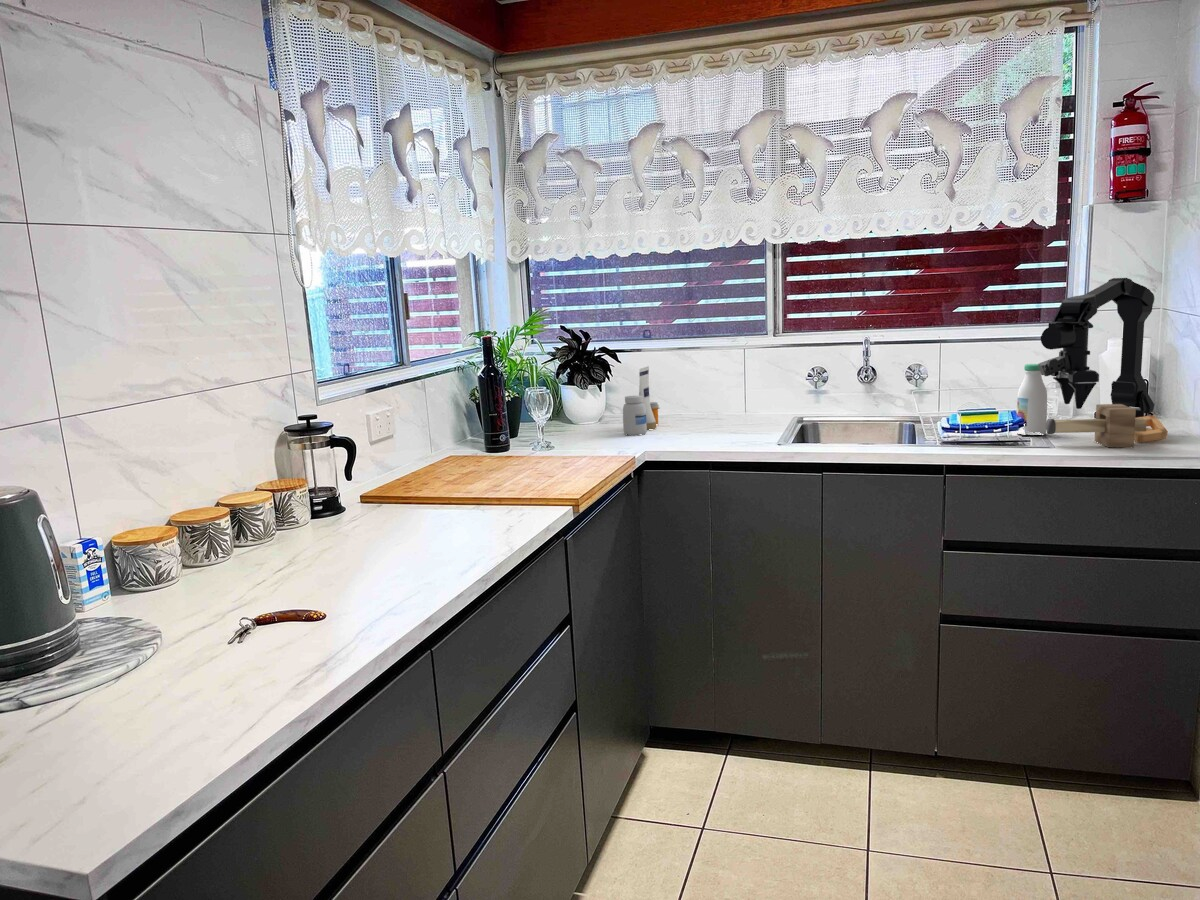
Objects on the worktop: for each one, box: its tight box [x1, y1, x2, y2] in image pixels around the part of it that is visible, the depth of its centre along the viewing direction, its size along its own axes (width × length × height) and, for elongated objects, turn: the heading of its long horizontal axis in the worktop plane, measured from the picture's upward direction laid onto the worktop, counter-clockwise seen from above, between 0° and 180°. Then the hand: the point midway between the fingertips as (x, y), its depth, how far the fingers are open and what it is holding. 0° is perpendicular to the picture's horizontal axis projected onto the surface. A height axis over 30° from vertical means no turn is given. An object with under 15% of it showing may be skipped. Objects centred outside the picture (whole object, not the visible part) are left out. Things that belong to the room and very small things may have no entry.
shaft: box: [1046, 418, 1147, 435], centre depth 239 cm, size 4×23×4 cm, turn 80°
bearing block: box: [1094, 403, 1136, 449], centre depth 238 cm, size 10×6×10 cm, turn 170°
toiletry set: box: [622, 365, 661, 436], centre depth 299 cm, size 25×8×20 cm, turn 159°
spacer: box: [1134, 414, 1169, 444], centre depth 241 cm, size 7×2×7 cm
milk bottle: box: [1016, 363, 1048, 435], centre depth 257 cm, size 8×8×20 cm
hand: (1072, 406), depth 239 cm, fingers open, 9 cm apart
